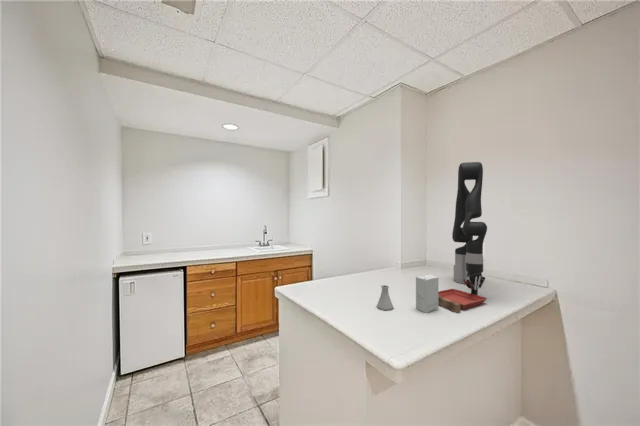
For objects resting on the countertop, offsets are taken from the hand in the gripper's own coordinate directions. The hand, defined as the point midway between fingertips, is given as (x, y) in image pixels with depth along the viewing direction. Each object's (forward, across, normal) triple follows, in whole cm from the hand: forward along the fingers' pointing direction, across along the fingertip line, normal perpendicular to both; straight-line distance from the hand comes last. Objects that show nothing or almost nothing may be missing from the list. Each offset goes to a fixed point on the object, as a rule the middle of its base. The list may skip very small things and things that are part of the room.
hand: (474, 296), depth 134 cm
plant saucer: (+2, +11, 0) cm, 11 cm away
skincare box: (+1, +32, +2) cm, 32 cm away
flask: (+1, +48, -7) cm, 49 cm away
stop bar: (+1, +22, 0) cm, 22 cm away
